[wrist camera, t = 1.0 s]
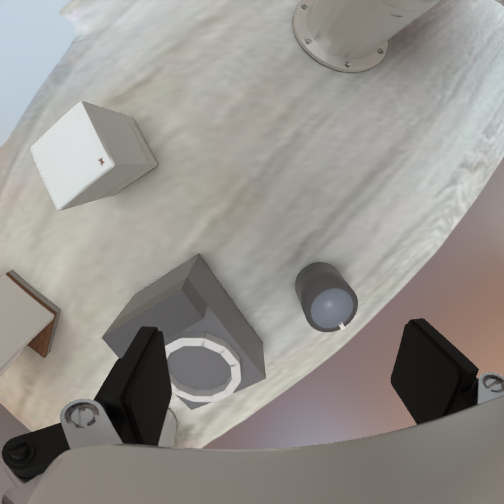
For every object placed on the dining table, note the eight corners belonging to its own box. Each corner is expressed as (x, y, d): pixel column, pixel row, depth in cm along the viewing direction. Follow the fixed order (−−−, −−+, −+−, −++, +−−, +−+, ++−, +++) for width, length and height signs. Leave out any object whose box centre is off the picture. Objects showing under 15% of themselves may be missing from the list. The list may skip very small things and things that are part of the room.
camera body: (198, 253, 36) (181, 289, 26) (262, 341, 40) (267, 395, 29) (134, 295, 38) (101, 337, 27) (198, 372, 41) (188, 426, 31)
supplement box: (133, 116, 31) (82, 96, 19) (159, 166, 33) (116, 167, 21) (88, 149, 32) (27, 147, 20) (112, 197, 34) (56, 214, 22)
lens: (327, 253, 37) (345, 273, 30) (347, 290, 38) (366, 315, 31) (286, 277, 38) (295, 302, 31) (308, 313, 39) (320, 342, 32)
